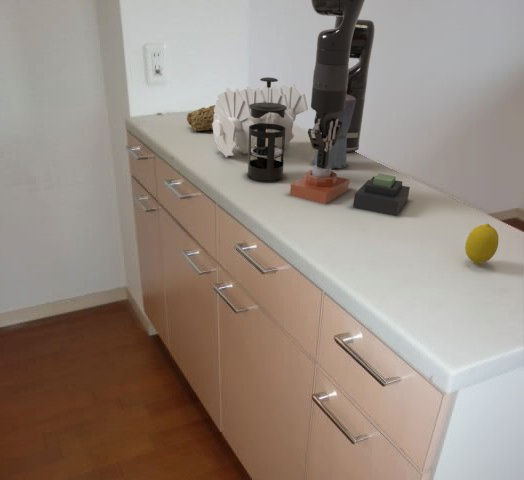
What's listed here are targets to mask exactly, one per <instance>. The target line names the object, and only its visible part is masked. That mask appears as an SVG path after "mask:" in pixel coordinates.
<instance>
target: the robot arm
mask: <svg viewBox="0 0 524 480" xmlns="http://www.w3.org/2000/svg"><path fill="white" fill-rule="evenodd" d="M310 1H311V6H312V9H313V11H314V12H315V13H316V14H317V15H320V16H325V17H335V18H334V19H335V20H334V26H333V27H334V28H328V29H324V30H321V31H320V32H319V33H318V35H317V41H316V51H315V52H316V53H315V65H314V69H313V77H312V87H311V100H310V108H311V109H312V110H313V111H315V117H314V120H313V122H314V125H313V127H312V128H308V130H307V135H308V138H309V141H310V143H311V147H312V149H313V150H315V151H316V150H318V155H317V167H320V168H325V167H327V166H328V158H329V150H331V147H332V146H334V145H335V143H336V140H337V138H338V135H339V133H340V130H341V127H342V125H343V121H339V120H338V117H339V112H341V111H343V110H344V109H345V103H346V94H348V95H351V96H353V97H355V99H356V103H355V107H354V111H353V115H352V119H351V123H350V127H349V129H348V132H347V136H346V138H347V148H346V153H351V152H357V151H358V150H359V148H360V137H361V131H362V123H363V117H364V108H365V102H366V101H365V100H366V94H367V93H366V92H367V84H368V77H369V69H370V62H371V56H372V51H373V47H374V41H375V33H376V32H375V31H376V28H375V24H374V22H373V21H372V20H370V19H360V18H359V17H360V15H361V12H362V10H363V7H364V4H365V2H366V1H365V0H310ZM350 59H355V60H357V59H358V61H357V62H356V64H354V65H353V66H351V67H350V68H349V64H350Z"/></svg>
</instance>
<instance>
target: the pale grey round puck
mask: <svg viewBox="0 0 524 480" xmlns="http://www.w3.org/2000/svg"><path fill="white" fill-rule="evenodd" d="M311 170H312V175H313V176H315V177H321V178H326V177H330V176H331V171H332V168H331V167H330V166H327V167H325V168H320V167H317V165H316V164H314V165H313V166H312V168H311Z"/></svg>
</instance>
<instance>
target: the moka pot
mask: <svg viewBox="0 0 524 480" xmlns="http://www.w3.org/2000/svg"><path fill="white" fill-rule="evenodd" d="M355 103H356V99H355V97H353V96H351V95H348V94H346V103H345V109H344V110H343V111H341V112H339V117H338V120H339V121H343V125H342V127H341V130H340V133H339V135H338V138H337V140H336V143H335V145H334V146H332V147H331V150H329V158H328V166H330V167H331V169H343V168H346V166H347V152H346V148H347V138H346V136H347V132H348V129H349V127H350V123H351V119H352V115H353V111H354V107H355ZM317 155H318V150H316V149H315V152H314V157H313V164H314V165H317Z"/></svg>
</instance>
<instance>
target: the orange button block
mask: <svg viewBox="0 0 524 480" xmlns="http://www.w3.org/2000/svg"><path fill="white" fill-rule="evenodd" d="M349 185H350V179H349V178H345V177H341V176H338V175H337V173H336V172H334V171H333V170H331V176H330V177H326V178H321V177H315V176H313V175H312V169H309V170H307V171H306V172H305V176H304V177H302V178H300V179H298V180H296V181H294V182H292V183H290V190H289V195H290V196H292V197H297V198H300V199H303V200H304V199H305V200H308V201H310V202H311V201H312V202H316V203H319V204H324V205H326V204H328V203H330V202H332V201H333V200H334V199H336V198H338V197H339V196H341V195H343V194H345V193H346V192H348V191H349Z"/></svg>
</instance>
